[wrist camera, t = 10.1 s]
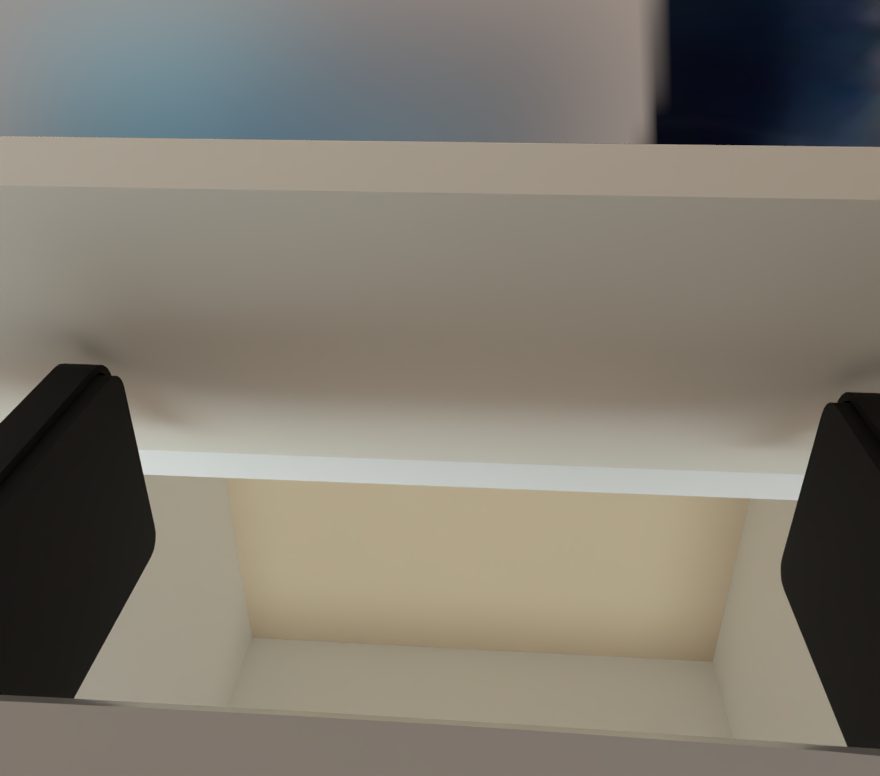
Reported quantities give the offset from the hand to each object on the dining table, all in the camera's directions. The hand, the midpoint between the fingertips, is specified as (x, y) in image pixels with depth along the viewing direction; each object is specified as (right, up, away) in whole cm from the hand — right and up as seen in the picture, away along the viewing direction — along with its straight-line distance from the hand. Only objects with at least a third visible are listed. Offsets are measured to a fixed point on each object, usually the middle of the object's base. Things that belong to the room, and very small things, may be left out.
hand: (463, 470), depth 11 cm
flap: (0, +1, 0) cm, 1 cm away
